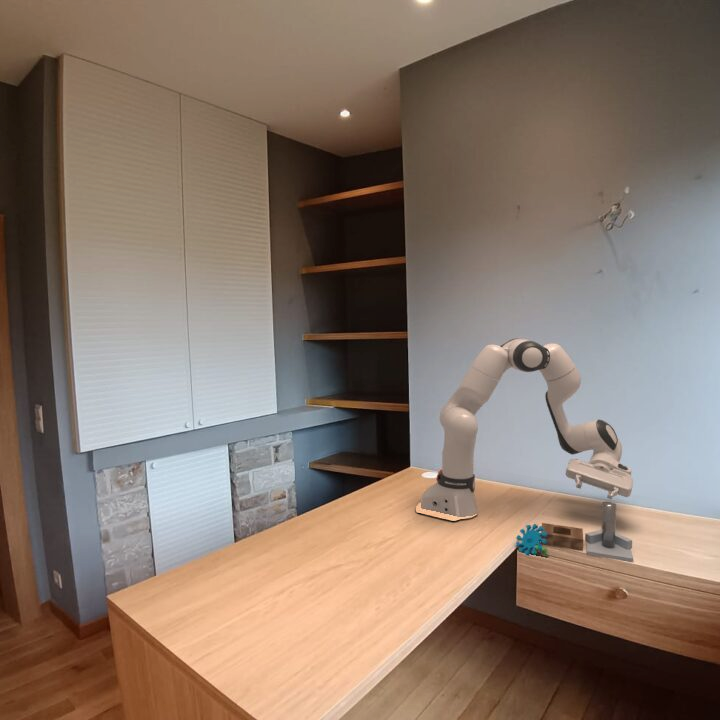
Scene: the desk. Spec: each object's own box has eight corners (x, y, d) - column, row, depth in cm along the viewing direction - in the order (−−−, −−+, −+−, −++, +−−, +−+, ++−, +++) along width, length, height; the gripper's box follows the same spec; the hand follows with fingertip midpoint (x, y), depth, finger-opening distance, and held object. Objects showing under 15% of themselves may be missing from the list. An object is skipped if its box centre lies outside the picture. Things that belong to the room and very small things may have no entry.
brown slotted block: (540, 543, 149) (540, 533, 149) (542, 533, 157) (542, 522, 156) (583, 550, 145) (583, 539, 144) (582, 539, 152) (582, 528, 152)
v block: (585, 554, 143) (585, 542, 142) (584, 536, 153) (584, 526, 153) (634, 562, 137) (635, 550, 137) (630, 543, 148) (630, 532, 148)
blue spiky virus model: (508, 540, 149) (530, 516, 149) (519, 550, 151) (541, 527, 151) (530, 562, 138) (553, 536, 139) (541, 572, 141) (564, 547, 141)
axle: (601, 547, 145) (602, 505, 143) (601, 541, 148) (602, 501, 147) (615, 549, 143) (616, 507, 142) (614, 543, 146) (615, 502, 145)
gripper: (572, 450, 171) (562, 473, 161) (636, 470, 160) (630, 496, 150) (569, 464, 173) (559, 487, 164) (632, 485, 163) (625, 511, 153)
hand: (593, 491), depth 157 cm, fingers open, 8 cm apart
